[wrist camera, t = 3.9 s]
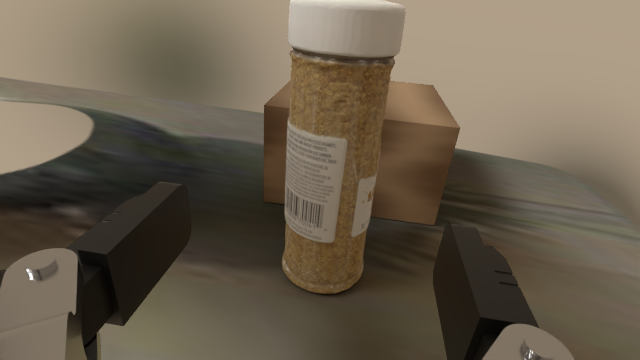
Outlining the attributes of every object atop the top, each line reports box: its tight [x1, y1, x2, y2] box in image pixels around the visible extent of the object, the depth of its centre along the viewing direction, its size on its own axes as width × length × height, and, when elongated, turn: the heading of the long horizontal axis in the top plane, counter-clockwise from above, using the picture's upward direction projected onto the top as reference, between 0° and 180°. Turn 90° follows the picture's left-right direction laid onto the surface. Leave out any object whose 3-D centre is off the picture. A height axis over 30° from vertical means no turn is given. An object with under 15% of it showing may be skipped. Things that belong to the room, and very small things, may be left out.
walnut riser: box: [263, 80, 460, 225], centre depth 29 cm, size 12×12×7 cm
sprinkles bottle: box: [282, 0, 405, 293], centre depth 17 cm, size 5×5×14 cm
